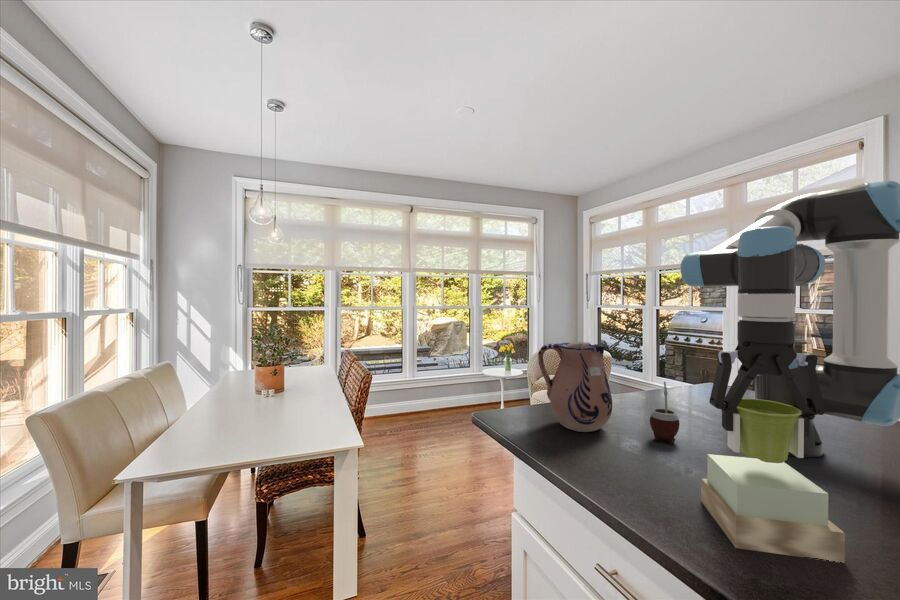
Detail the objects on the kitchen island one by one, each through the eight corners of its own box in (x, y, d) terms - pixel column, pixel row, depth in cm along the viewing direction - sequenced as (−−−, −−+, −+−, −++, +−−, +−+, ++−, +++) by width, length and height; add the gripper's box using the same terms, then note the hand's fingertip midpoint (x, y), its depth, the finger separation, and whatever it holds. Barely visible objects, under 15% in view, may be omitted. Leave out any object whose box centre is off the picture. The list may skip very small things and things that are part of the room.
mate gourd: (662, 446, 100) (663, 389, 100) (641, 436, 108) (642, 382, 108) (687, 444, 102) (687, 388, 101) (664, 433, 109) (665, 381, 109)
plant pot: (816, 471, 60) (816, 416, 60) (747, 465, 62) (748, 412, 62) (777, 447, 69) (778, 399, 69) (719, 443, 71) (719, 397, 71)
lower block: (787, 514, 70) (787, 487, 70) (844, 566, 57) (844, 533, 57) (701, 504, 74) (701, 478, 74) (735, 551, 60) (736, 519, 60)
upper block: (781, 488, 70) (782, 460, 70) (828, 526, 58) (828, 493, 58) (707, 480, 73) (707, 454, 73) (737, 515, 61) (737, 484, 61)
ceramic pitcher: (619, 440, 105) (619, 348, 104) (540, 435, 108) (540, 347, 108) (604, 419, 122) (605, 341, 122) (536, 416, 126) (536, 339, 125)
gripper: (824, 318, 66) (823, 449, 67) (687, 317, 71) (686, 438, 72) (859, 321, 59) (857, 468, 59) (703, 320, 64) (702, 454, 64)
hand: (764, 451), depth 65 cm, fingers closed on plant pot, 8 cm apart
